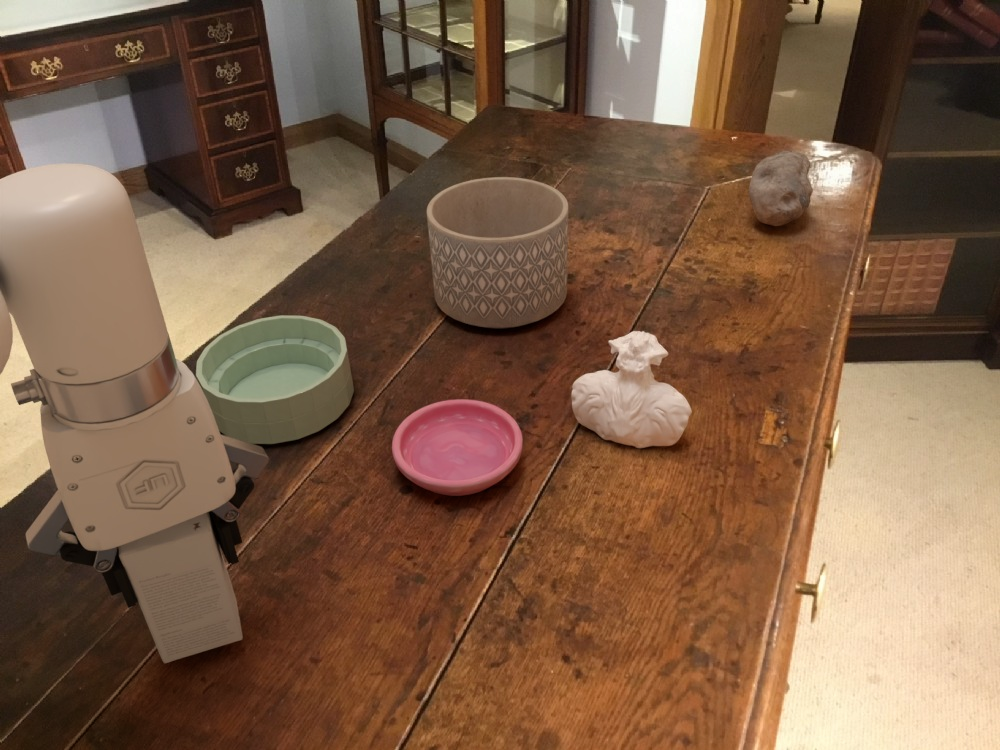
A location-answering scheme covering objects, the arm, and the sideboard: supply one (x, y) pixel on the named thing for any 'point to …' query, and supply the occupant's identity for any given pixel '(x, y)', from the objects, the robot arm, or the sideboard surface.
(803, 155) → the stone
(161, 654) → the cosmetic box
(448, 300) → the planter
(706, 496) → the sideboard surface
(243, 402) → the bowl
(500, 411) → the saucer
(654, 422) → the bust
